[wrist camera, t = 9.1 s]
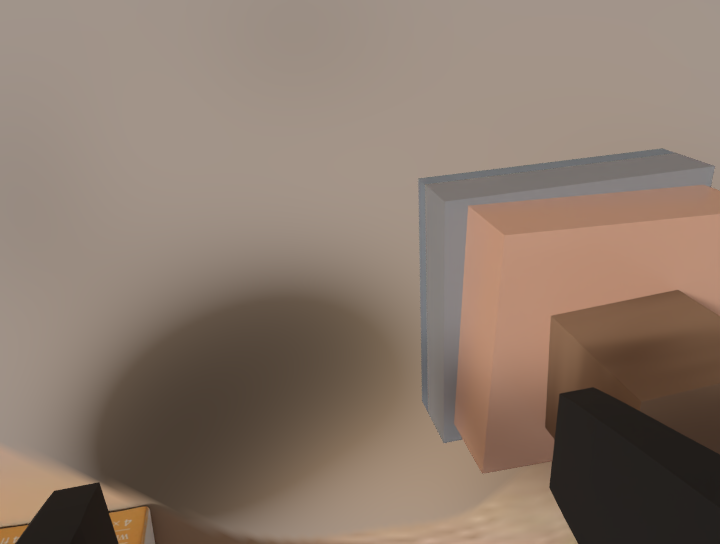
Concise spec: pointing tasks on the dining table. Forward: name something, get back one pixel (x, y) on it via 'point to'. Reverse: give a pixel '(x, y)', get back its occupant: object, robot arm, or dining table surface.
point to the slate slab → (528, 182)
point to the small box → (127, 524)
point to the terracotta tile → (563, 295)
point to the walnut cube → (643, 361)
